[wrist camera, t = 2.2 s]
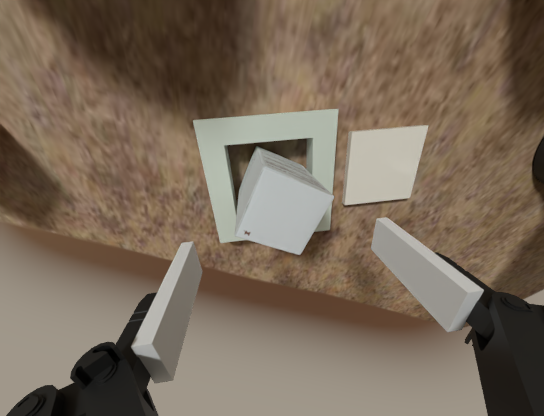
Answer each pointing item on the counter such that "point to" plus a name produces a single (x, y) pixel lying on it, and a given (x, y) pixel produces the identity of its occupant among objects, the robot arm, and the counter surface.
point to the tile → (382, 163)
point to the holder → (263, 129)
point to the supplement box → (279, 203)
